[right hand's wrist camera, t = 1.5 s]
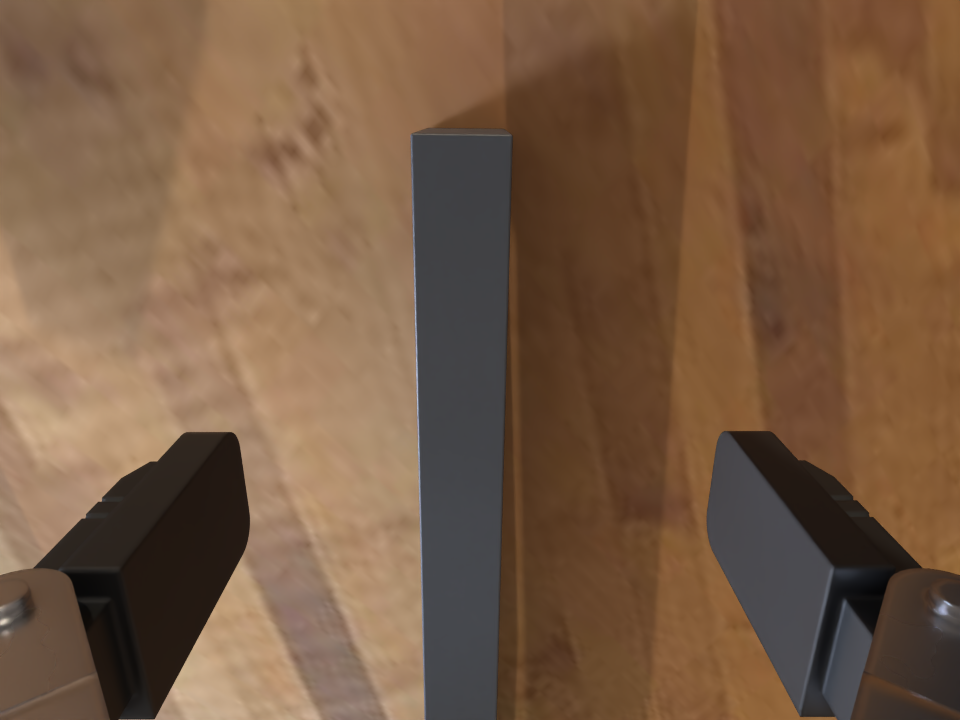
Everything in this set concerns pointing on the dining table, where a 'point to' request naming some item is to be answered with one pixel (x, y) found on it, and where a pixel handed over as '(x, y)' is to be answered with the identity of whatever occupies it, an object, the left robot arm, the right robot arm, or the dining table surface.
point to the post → (461, 407)
